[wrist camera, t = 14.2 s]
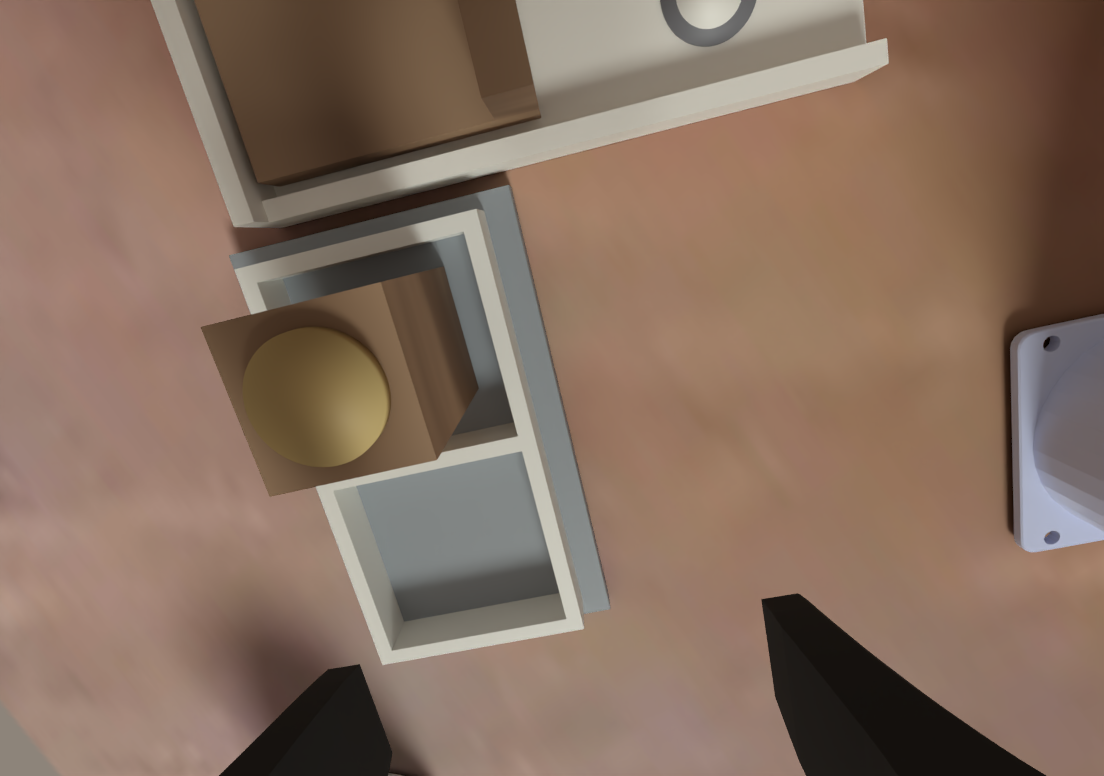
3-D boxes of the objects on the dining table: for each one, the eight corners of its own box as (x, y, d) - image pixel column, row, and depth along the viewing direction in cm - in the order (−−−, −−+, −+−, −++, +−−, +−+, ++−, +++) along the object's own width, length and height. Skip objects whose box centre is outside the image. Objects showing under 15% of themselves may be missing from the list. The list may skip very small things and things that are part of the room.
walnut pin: (443, 266, 17) (374, 283, 11) (478, 388, 18) (433, 467, 12) (322, 296, 17) (187, 330, 11) (363, 415, 18) (260, 505, 12)
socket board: (511, 186, 17) (502, 179, 15) (608, 595, 21) (613, 637, 19) (243, 254, 18) (197, 257, 16) (383, 636, 22) (363, 681, 20)
